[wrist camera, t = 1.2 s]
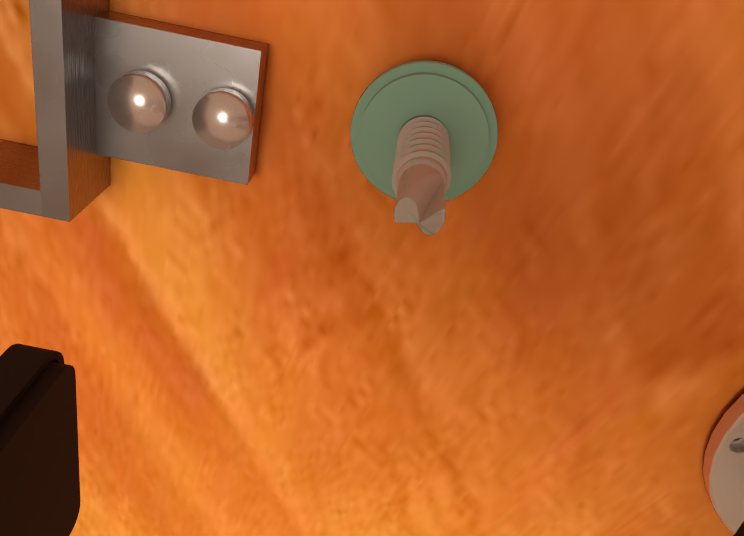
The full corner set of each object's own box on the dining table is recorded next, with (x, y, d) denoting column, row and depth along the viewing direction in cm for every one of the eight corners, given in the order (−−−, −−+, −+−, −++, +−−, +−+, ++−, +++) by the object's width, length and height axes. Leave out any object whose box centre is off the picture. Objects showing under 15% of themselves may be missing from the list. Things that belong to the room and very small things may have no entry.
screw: (336, 76, 25) (470, 27, 24) (383, 197, 27) (509, 158, 26) (290, 165, 17) (487, 98, 16) (362, 326, 19) (540, 277, 18)
